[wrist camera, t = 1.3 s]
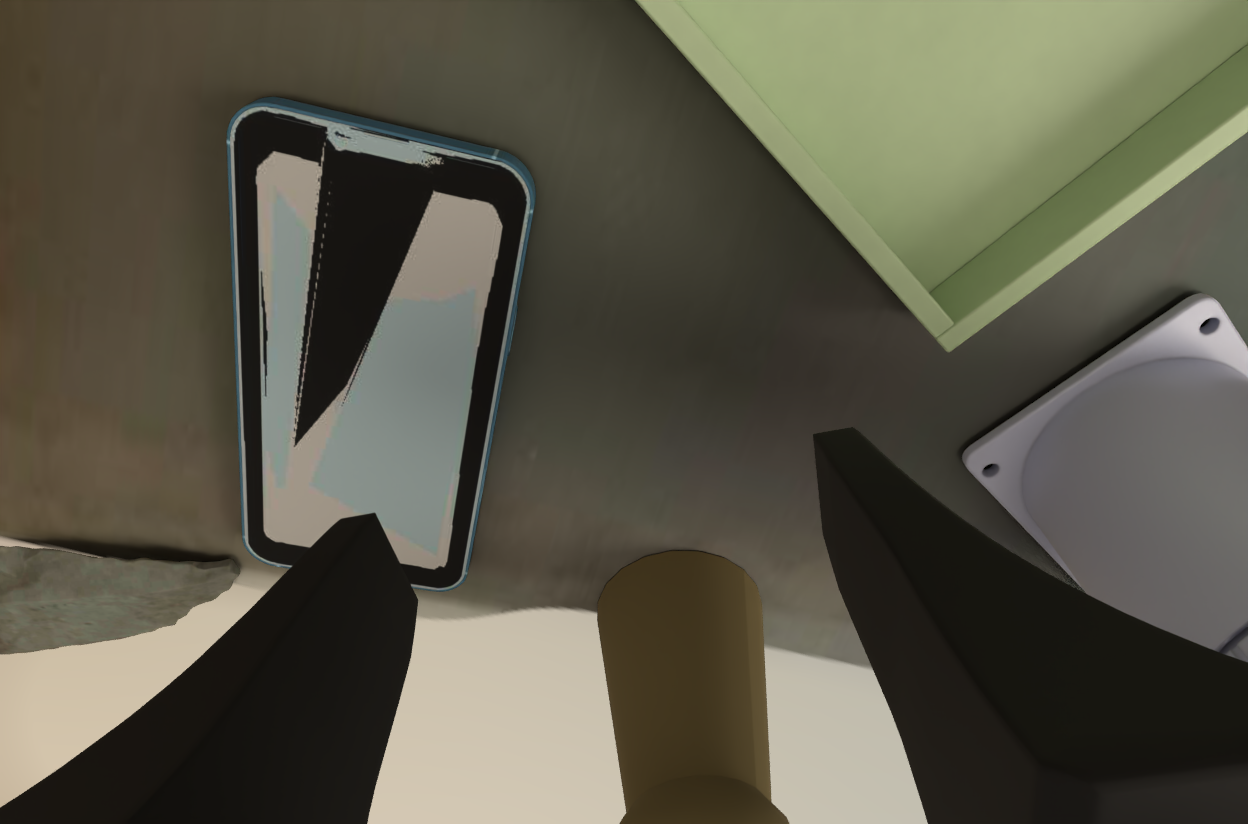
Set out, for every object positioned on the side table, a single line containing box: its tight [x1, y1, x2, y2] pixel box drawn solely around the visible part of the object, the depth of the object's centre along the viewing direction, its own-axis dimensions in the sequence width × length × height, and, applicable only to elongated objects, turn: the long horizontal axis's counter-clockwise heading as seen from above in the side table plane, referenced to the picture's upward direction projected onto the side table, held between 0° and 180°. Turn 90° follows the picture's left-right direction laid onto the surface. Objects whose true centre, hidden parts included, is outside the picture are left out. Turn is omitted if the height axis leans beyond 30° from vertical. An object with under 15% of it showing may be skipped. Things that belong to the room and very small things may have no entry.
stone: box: [0, 546, 240, 654], centre depth 27 cm, size 11×2×5 cm
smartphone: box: [227, 97, 536, 592], centre depth 22 cm, size 7×1×15 cm
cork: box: [597, 551, 789, 824], centre depth 24 cm, size 6×6×11 cm
